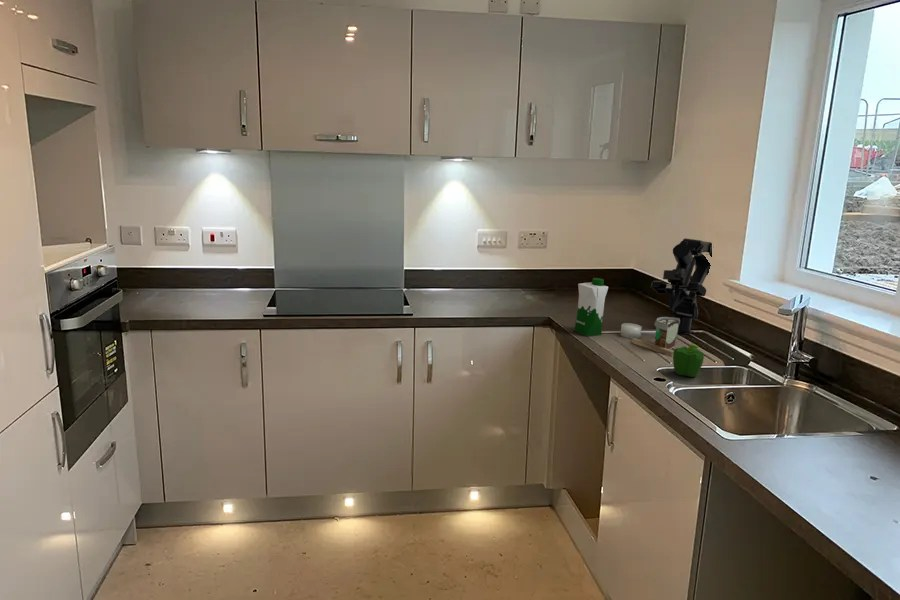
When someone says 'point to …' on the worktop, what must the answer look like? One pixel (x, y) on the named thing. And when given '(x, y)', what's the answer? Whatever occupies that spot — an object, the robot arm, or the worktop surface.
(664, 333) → the food container
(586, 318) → the milk carton
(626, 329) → the white domed puck
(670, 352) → the oak strip
